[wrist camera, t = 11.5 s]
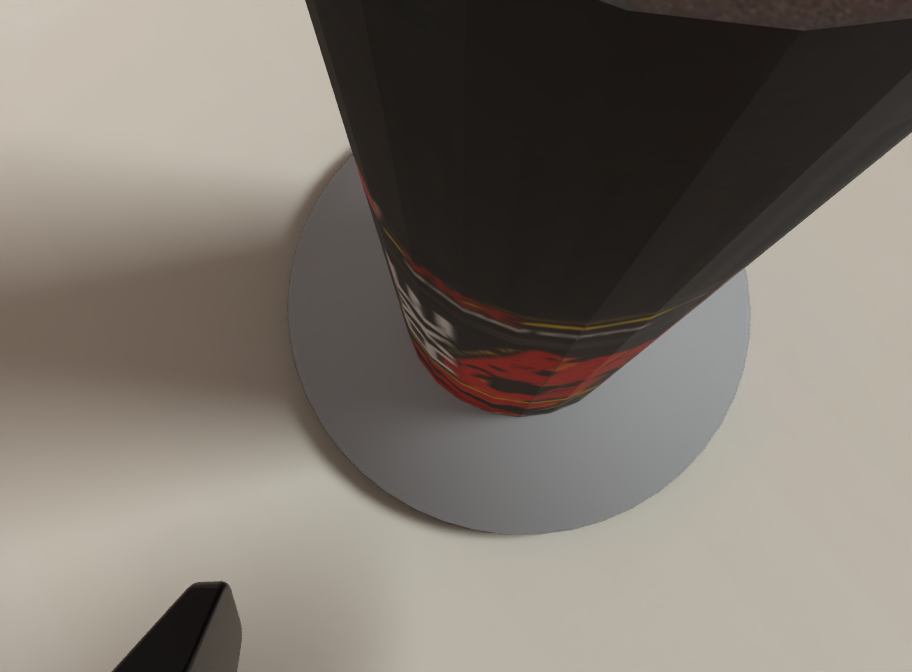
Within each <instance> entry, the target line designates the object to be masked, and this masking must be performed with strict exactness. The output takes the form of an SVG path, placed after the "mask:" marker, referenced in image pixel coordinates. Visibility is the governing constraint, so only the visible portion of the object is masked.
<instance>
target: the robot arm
mask: <svg viewBox="0 0 912 672" xmlns="http://www.w3.org/2000/svg"><path fill="white" fill-rule="evenodd" d="M241 640H242V628H241V622H240V619H239V615H238V612H237V608H236V605H235V601H234V598H233V594H232V591H231V588H230V586H229V585H228V584H227V583H226V582H223V581H215V582H197V583H194V584H192V585H191V586H190V587H188V588H187V589H186V590H185V592H184V593H183V594H182V595H181V596H180V597H179V598H178V599H177V600H176V601H175V603H174V604H173V605H172V606H171V607H170V608H169V609H168V610H167V611H166V613H165V614H164V615H163V616H162V617H161V618H160V619H159V620H158V621H157V622H156V624H155V625H154V626H153V627H152V628H151V629H150V630H149V631H148V632H147V633H146V635H145V636H144V637H143V638H142V639H141V640H140V641H139V642H138V643H137V644H136V646H135V647H134V648H133V649H132V650H131V651H130V652H129V653H128V654H127V656H126V657H125V658H124V659H123V660H122V661H121V662H120V663H119V664H118V665H117V667H116V668H115V669H114V670H113V671H112V672H237V668H238V661H239V655H240V648H241Z"/></svg>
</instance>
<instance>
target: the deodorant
mask: <svg viewBox="0 0 912 672" xmlns="http://www.w3.org/2000/svg"><path fill="white" fill-rule="evenodd" d="M305 1H306V4H307V7H308V11H309V14H310V17H311V20H312V24H313V27H314V30H315V33H316V37H317V40H318V43H319V46H320V49H321V53H322V56H323V59H324V62H325V66H326V69H327V72H328V75H329V79H330V82H331V85H332V88H333V91H334V95H335V98H336V101H337V104H338V108H339V111H340V114H341V117H342V120H343V124H344V127H345V130H346V133H347V137H348V140H349V143H350V146H351V150H352V153H353V156H354V159H355V162H356V166H357V169H358V172H359V175H360V179H361V182H362V185H363V188H364V192H365V195H366V198H367V201H368V204H369V208H370V211H371V214H372V217H373V221H374V224H375V227H376V230H377V234H378V237H379V240H380V243H381V246H382V250H383V253H384V256H385V259H386V263H387V266H388V269H389V272H390V275H391V279H392V282H393V285H394V288H395V292H396V295H397V298H398V301H399V305H400V308H401V311H402V314H403V317H404V321H405V324H406V327H407V330H408V333H409V336H410V338H411V341H412V343H413V346H414V348H415V351H416V353H417V356H418V358H419V360H420V361H421V362H422V364H423V365H424V366H425V367H426V369H427V370H428V371H429V373H430V374H431V375H432V377H433V378H434V379H435V381H436V382H437V383H438V384H440V385H441V386H442V387H443V388H445V389H446V390H447V391H449V392H450V393H451V394H453V395H454V396H455V397H456V398H458V399H459V400H460V401H462V402H465V403H467V404H469V405H472V406H474V407H476V408H479V409H481V410H484V411H486V412H488V413H494V414H501V415H508V416H516V417H525V416H533V415H540V414H548V413H552V412H555V411H557V410H560V409H562V408H564V407H567V406H569V405H572V404H574V403H577V402H579V401H580V400H582V399H583V398H584V397H586V396H587V395H588V394H589V393H591V392H592V391H593V390H595V389H596V388H597V387H598V386H600V385H601V384H602V383H604V382H605V381H606V380H607V379H609V378H610V377H611V376H612V375H613V374H615V373H616V372H617V371H618V370H620V369H621V368H622V367H623V366H625V365H626V364H627V363H628V362H629V361H631V360H632V359H633V358H634V357H636V356H637V355H638V354H639V353H641V352H642V351H643V350H644V349H645V348H647V347H648V346H649V345H650V344H652V343H653V342H654V341H655V340H657V339H658V338H659V337H660V336H661V335H663V334H664V333H665V332H666V331H668V330H669V329H670V328H671V327H673V326H674V325H675V324H676V323H677V322H679V321H680V320H681V319H682V318H684V317H685V316H686V315H687V314H689V313H690V312H691V311H692V310H693V309H695V308H696V307H697V306H698V305H700V304H701V303H702V302H703V301H705V300H706V299H707V298H708V297H709V296H711V295H712V294H713V293H714V292H716V291H717V290H718V289H719V288H721V287H722V286H723V285H724V284H725V283H727V282H728V281H729V280H730V279H732V278H733V277H734V276H735V275H737V274H738V273H739V272H740V271H741V270H743V269H744V268H745V267H746V266H748V265H749V264H750V263H751V262H753V261H754V260H755V259H756V258H757V257H759V256H760V255H761V254H762V253H764V252H765V251H766V250H767V249H769V248H770V247H771V246H772V245H773V244H775V243H776V242H777V241H778V240H780V239H781V238H782V237H783V236H785V235H786V234H787V233H788V232H789V231H791V230H792V229H793V228H794V227H796V226H797V225H798V224H799V223H801V222H802V221H803V220H804V219H805V218H807V217H808V216H809V215H810V214H812V213H813V212H814V211H815V210H817V209H818V208H819V207H820V206H821V205H823V204H824V203H825V202H826V201H828V200H829V199H830V198H831V197H833V196H834V195H835V194H836V193H837V192H839V191H840V190H841V189H842V188H844V187H845V186H846V185H847V184H849V183H850V182H851V181H852V180H853V179H855V178H856V177H857V176H858V175H860V174H861V173H862V172H863V171H865V170H866V169H867V168H868V167H869V166H871V165H872V164H873V163H874V162H876V161H877V160H878V159H879V158H881V157H882V156H883V155H884V154H885V153H887V152H888V151H889V150H890V149H892V148H893V147H894V146H895V145H897V144H898V143H899V142H900V141H901V140H903V139H904V138H905V137H906V136H908V135H909V134H910V133H911V132H912V0H305Z"/></svg>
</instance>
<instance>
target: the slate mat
mask: <svg viewBox="0 0 912 672" xmlns="http://www.w3.org/2000/svg"><path fill="white" fill-rule="evenodd" d="M750 310H751V309H750V299H749V289H748V279H747V275H746V271H745V268H744V269H743V270H741V271H740V272H739V273H738V274H737V275H735V276H734V277H733V278H732V279H730V280H729V281H728V282H727V283H725V284H724V285H723V286H722V287H721V288H719V289H718V290H717V291H716V292H714V293H713V294H712V295H711V296H709V297H708V298H707V299H706V300H705V301H703V302H702V303H701V304H700V305H698V306H697V307H696V308H695V309H693V310H692V311H691V312H690V313H689V314H687V315H686V316H685V317H684V318H682V319H681V320H680V321H679V322H677V323H676V324H675V325H674V326H673V327H671V328H670V329H669V330H668V331H666V332H665V333H664V334H663V335H661V336H660V337H659V338H658V339H657V340H655V341H654V342H653V343H652V344H650V345H649V346H648V347H647V348H645V349H644V350H643V351H642V352H641V353H639V354H638V355H637V356H636V357H634V358H633V359H632V360H631V361H629V362H628V363H627V364H626V365H625V366H623V367H622V368H621V369H620V370H618V371H617V372H616V373H615V374H613V375H612V376H611V377H610V378H609V379H607V380H606V381H605V382H604V383H602V384H601V385H600V386H598V387H597V388H596V389H595V390H593V391H592V392H591V393H589V394H588V395H587V396H586V397H584V398H583V399H582V400H580V401H579V402H577V403H574V404H572V405H569V406H567V407H564V408H562V409H560V410H557V411H555V412H552V413H548V414H540V415H533V416H525V417H516V416H508V415H501V414H494V413H488V412H486V411H484V410H481V409H479V408H476V407H474V406H472V405H469V404H467V403H465V402H462V401H460V400H459V399H458V398H456V397H455V396H454V395H453V394H451V393H450V392H449V391H447V390H446V389H445V388H443V387H442V386H441V385H440V384H438V383H437V382H436V381H435V379H434V378H433V377H432V375H431V374H430V373H429V371H428V370H427V369H426V367H425V366H424V365H423V364H422V362H421V361H420V360H419V358H418V356H417V353H416V351H415V348H414V346H413V343H412V341H411V338H410V336H409V333H408V330H407V327H406V324H405V321H404V317H403V314H402V311H401V308H400V305H399V301H398V298H397V295H396V292H395V288H394V285H393V282H392V279H391V275H390V272H389V269H388V266H387V263H386V259H385V256H384V253H383V250H382V246H381V243H380V240H379V237H378V234H377V230H376V227H375V224H374V221H373V217H372V214H371V211H370V208H369V204H368V201H367V198H366V195H365V192H364V188H363V185H362V182H361V179H360V175H359V172H358V169H357V166H356V162H355V159H354V156H353V155H351V156H350V157H349V158H348V160H347V161H346V162H345V163H344V164H343V165H342V167H341V168H340V169H339V170H338V171H337V172H336V173H335V175H334V176H333V177H332V178H331V180H330V181H329V183H328V184H327V186H326V187H325V189H324V190H323V192H322V193H321V195H320V196H319V198H318V199H317V201H316V203H315V205H314V207H313V209H312V211H311V213H310V215H309V217H308V219H307V221H306V223H305V225H304V227H303V230H302V233H301V236H300V239H299V242H298V245H297V248H296V251H295V255H294V260H293V265H292V270H291V276H290V281H289V297H288V320H289V332H290V341H291V346H292V350H293V355H294V359H295V364H296V368H297V371H298V374H299V377H300V380H301V382H302V385H303V388H304V390H305V393H306V396H307V398H308V400H309V402H310V404H311V406H312V407H313V409H314V411H315V413H316V415H317V417H318V419H319V421H320V422H321V424H322V426H323V427H324V428H325V430H326V431H327V433H328V434H329V435H330V437H331V438H332V439H333V441H334V442H335V444H336V445H337V446H338V448H339V449H340V450H341V451H342V452H343V453H344V454H345V455H346V457H347V458H348V459H349V460H350V461H351V462H352V463H353V464H354V465H355V466H356V467H357V468H358V469H359V470H360V471H361V472H362V473H363V474H364V475H366V476H367V477H368V478H369V479H371V480H372V481H373V482H374V483H376V484H377V485H378V486H379V487H381V488H382V489H383V490H384V491H386V492H387V493H389V494H391V495H392V496H394V497H396V498H397V499H399V500H401V501H402V502H404V503H406V504H407V505H409V506H411V507H412V508H414V509H416V510H419V511H421V512H423V513H426V514H428V515H430V516H433V517H435V518H437V519H440V520H442V521H445V522H448V523H452V524H456V525H459V526H463V527H467V528H470V529H474V530H480V531H487V532H495V533H502V534H545V533H552V532H559V531H566V530H573V529H576V528H580V527H583V526H587V525H591V524H594V523H598V522H601V521H604V520H606V519H609V518H611V517H613V516H616V515H618V514H620V513H622V512H625V511H627V510H629V509H632V508H633V507H635V506H637V505H638V504H640V503H642V502H643V501H645V500H646V499H648V498H650V497H651V496H653V495H655V494H656V493H658V492H659V491H661V490H662V489H663V488H664V487H666V486H667V485H668V484H669V483H670V482H672V481H673V480H674V479H675V478H676V477H678V476H679V475H680V474H681V473H682V472H684V471H685V469H686V468H687V467H688V466H689V465H690V464H691V463H692V462H693V461H694V460H695V458H696V457H697V456H698V455H699V454H700V453H701V452H702V451H703V450H704V449H705V447H706V446H707V444H708V443H709V441H710V440H711V438H712V437H713V435H714V434H715V432H716V431H717V429H718V428H719V426H720V425H721V424H722V422H723V420H724V417H725V415H726V413H727V411H728V409H729V407H730V405H731V403H732V401H733V399H734V397H735V394H736V391H737V388H738V385H739V382H740V379H741V376H742V373H743V370H744V366H745V361H746V355H747V349H748V344H749V336H750Z"/></svg>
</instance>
